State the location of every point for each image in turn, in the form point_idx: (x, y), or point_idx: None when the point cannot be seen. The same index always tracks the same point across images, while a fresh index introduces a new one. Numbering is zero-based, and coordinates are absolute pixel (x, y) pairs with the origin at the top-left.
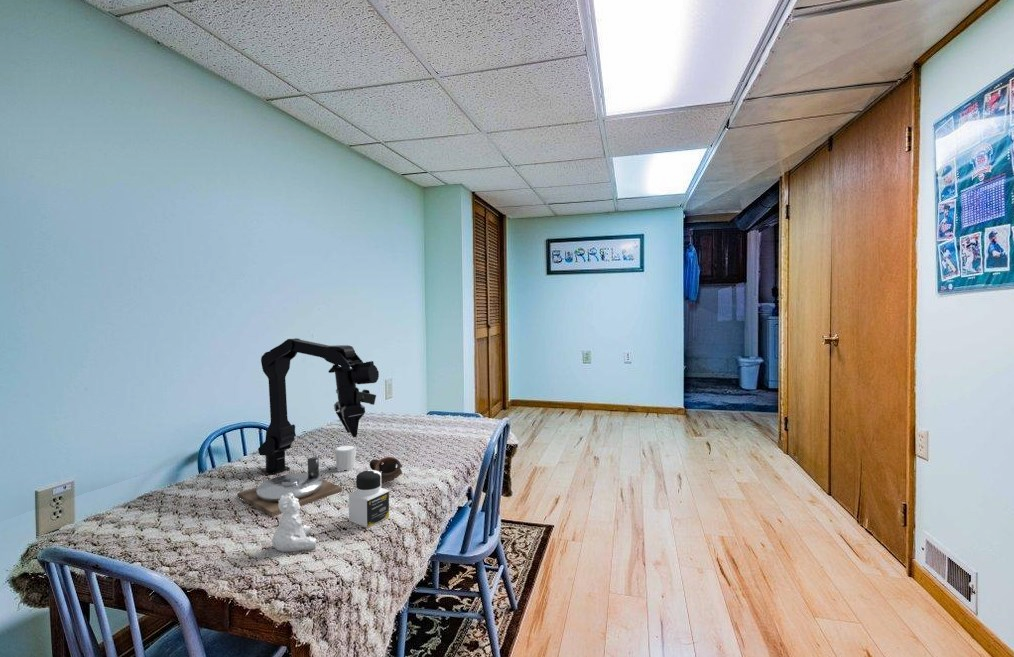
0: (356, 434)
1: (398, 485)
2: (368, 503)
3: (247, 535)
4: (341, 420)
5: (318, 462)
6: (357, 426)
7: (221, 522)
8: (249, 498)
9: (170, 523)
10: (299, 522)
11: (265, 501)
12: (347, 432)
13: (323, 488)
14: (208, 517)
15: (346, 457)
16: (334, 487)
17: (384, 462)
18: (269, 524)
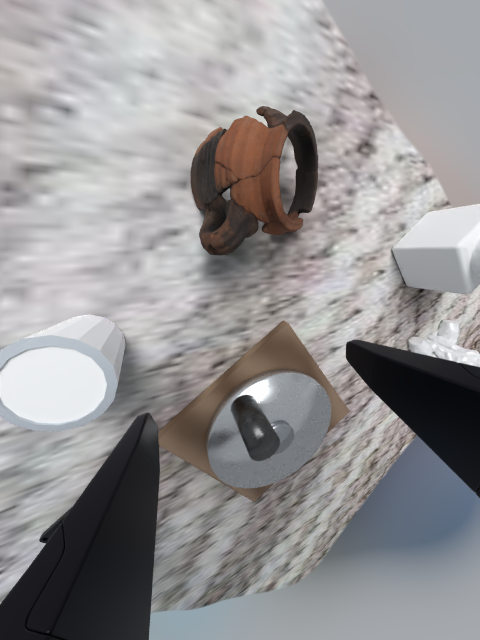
0: (371, 345)
1: (292, 163)
2: None
3: (379, 411)
4: (148, 611)
5: (261, 422)
6: (455, 366)
7: (333, 459)
8: None
9: (312, 511)
10: (478, 353)
11: None
12: (157, 432)
13: (281, 363)
14: (312, 483)
15: (118, 356)
16: (284, 340)
17: (229, 187)
18: (364, 399)
